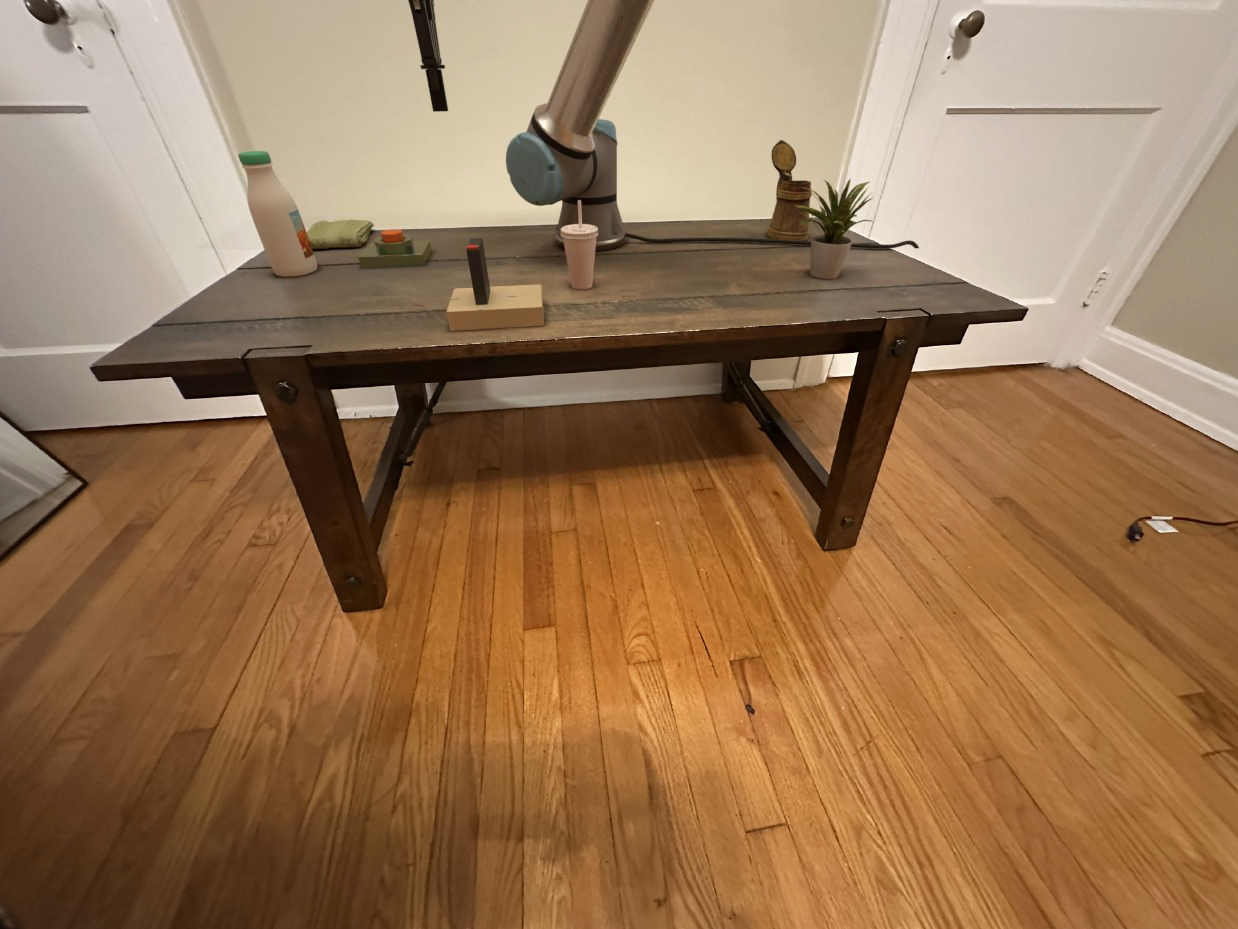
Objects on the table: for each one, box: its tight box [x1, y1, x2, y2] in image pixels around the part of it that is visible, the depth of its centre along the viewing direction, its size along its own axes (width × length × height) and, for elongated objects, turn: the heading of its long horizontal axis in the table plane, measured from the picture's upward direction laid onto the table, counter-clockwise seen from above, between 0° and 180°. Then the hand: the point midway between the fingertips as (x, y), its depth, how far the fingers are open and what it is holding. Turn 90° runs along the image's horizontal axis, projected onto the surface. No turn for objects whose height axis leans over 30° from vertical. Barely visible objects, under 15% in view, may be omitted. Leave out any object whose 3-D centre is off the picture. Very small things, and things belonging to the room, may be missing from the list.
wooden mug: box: [766, 139, 813, 241], centre depth 116 cm, size 9×14×18 cm, turn 17°
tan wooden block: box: [445, 283, 545, 332], centre depth 83 cm, size 14×10×3 cm
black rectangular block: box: [465, 237, 491, 305], centre depth 80 cm, size 6×2×8 cm, turn 7°
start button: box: [380, 228, 404, 242], centre depth 105 cm, size 4×4×2 cm
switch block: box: [358, 234, 433, 269], centre depth 107 cm, size 12×10×4 cm
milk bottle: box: [237, 150, 318, 278], centre depth 96 cm, size 8×8×20 cm
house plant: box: [794, 179, 875, 280], centre depth 95 cm, size 14×14×16 cm
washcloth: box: [306, 219, 375, 251], centre depth 119 cm, size 13×18×3 cm
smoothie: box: [561, 200, 598, 290], centre depth 91 cm, size 6×6×14 cm
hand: (440, 111), depth 103 cm, fingers closed
